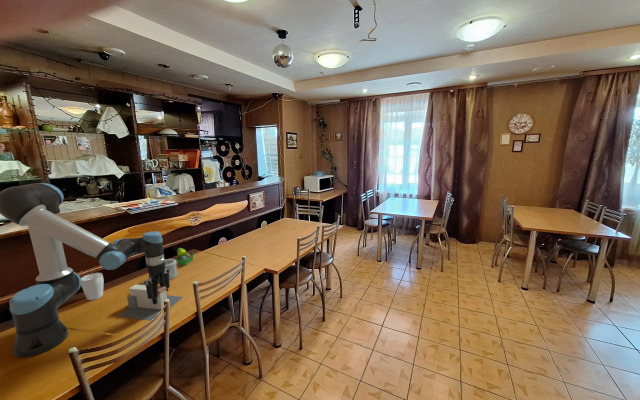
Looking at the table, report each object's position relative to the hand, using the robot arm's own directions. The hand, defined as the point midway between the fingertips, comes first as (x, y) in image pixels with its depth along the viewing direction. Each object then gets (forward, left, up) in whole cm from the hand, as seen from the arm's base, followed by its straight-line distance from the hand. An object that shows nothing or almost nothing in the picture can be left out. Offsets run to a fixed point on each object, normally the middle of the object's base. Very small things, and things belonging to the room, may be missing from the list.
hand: (160, 305), depth 127 cm
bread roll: (+12, +21, -2) cm, 24 cm away
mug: (+29, +22, -2) cm, 36 cm away
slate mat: (0, +5, -1) cm, 5 cm away
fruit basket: (+50, +24, -2) cm, 55 cm away
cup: (+3, +43, -1) cm, 43 cm away
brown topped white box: (0, +1, -1) cm, 1 cm away
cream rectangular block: (0, +10, -1) cm, 10 cm away
